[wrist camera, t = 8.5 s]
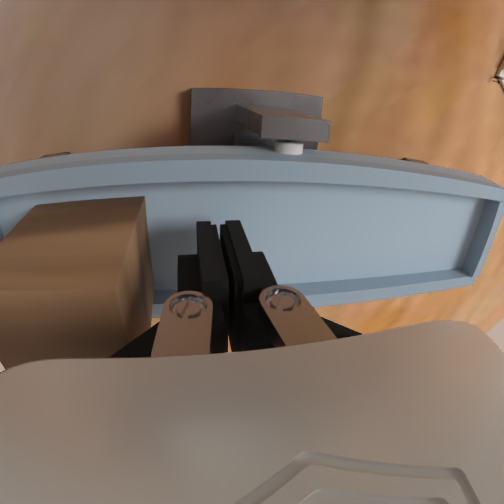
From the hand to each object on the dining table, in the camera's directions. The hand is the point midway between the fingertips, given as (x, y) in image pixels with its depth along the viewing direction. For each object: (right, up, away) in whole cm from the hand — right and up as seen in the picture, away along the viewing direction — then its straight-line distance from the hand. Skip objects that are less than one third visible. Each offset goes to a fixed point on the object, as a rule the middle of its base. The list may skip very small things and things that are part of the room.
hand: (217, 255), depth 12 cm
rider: (-5, 0, 0) cm, 5 cm away
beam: (+3, +1, +2) cm, 4 cm away
